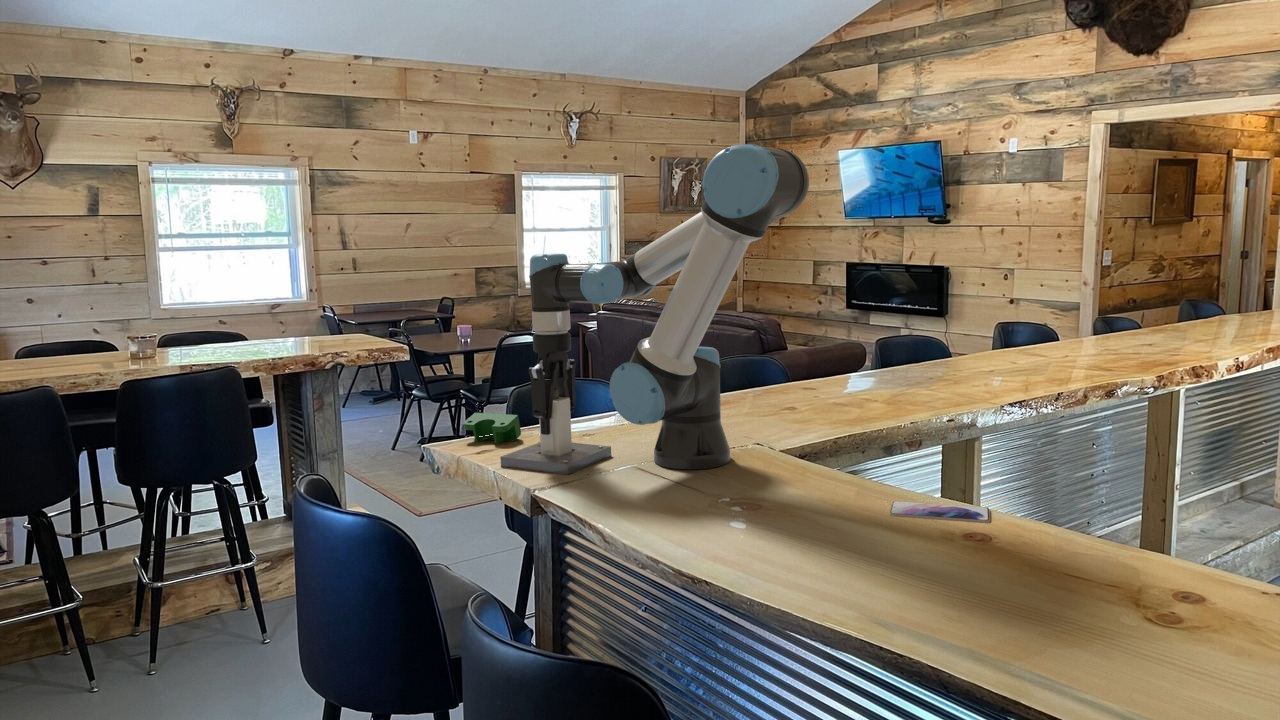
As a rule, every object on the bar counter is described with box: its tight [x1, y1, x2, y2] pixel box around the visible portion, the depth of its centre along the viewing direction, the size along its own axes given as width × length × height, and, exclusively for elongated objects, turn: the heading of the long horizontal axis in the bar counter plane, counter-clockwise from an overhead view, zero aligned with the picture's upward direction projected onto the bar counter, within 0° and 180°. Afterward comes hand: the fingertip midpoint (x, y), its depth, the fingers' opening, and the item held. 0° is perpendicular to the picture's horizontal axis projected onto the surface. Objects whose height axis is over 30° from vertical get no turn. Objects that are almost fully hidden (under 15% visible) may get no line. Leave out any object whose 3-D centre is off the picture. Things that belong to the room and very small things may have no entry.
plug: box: [538, 388, 573, 456], centre depth 186 cm, size 4×4×13 cm
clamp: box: [463, 412, 522, 445], centre depth 207 cm, size 12×6×9 cm, turn 61°
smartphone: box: [888, 500, 991, 524], centre depth 147 cm, size 7×1×15 cm
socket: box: [500, 441, 612, 476], centre depth 187 cm, size 16×16×3 cm
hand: (556, 446), depth 187 cm, fingers closed on plug, 4 cm apart
